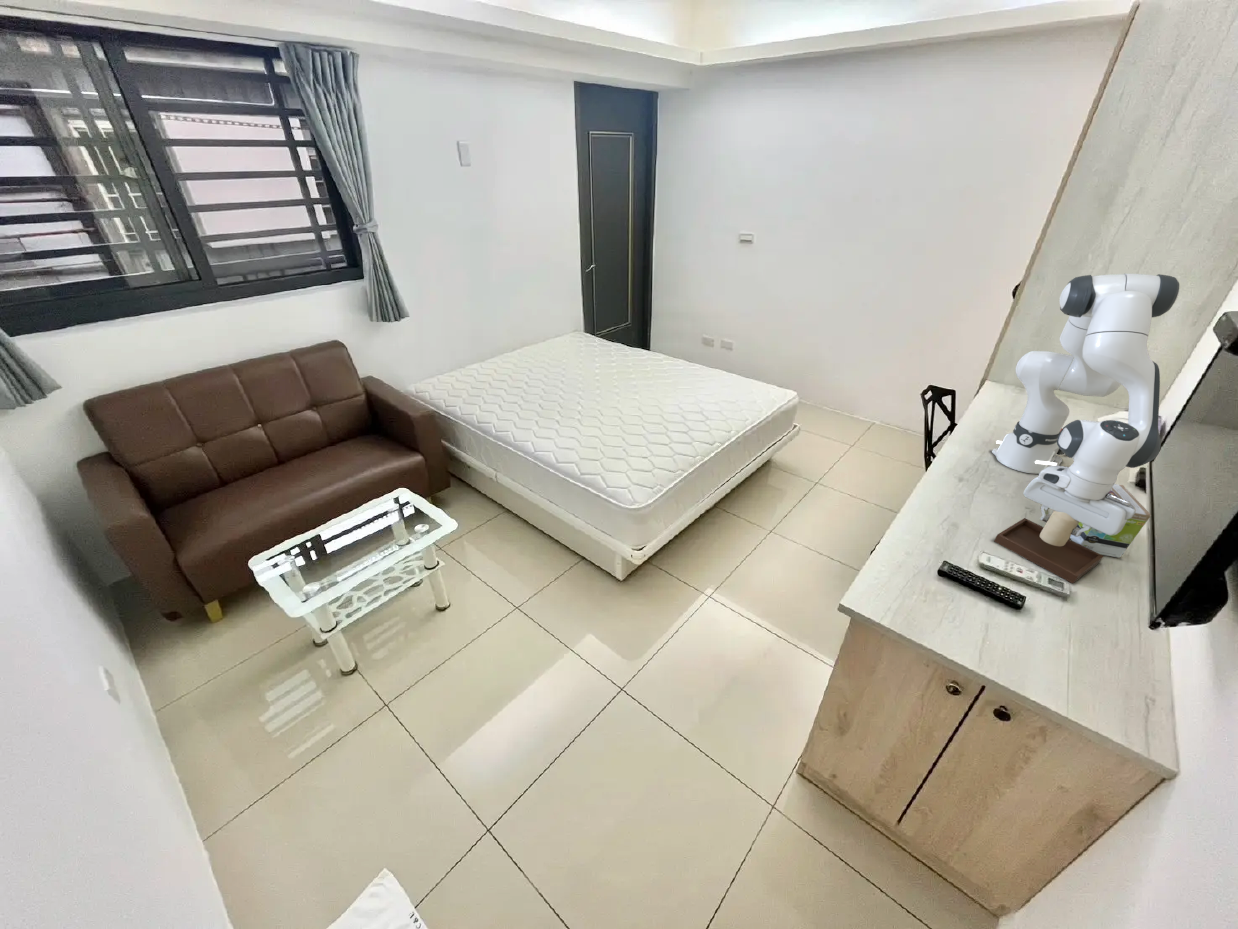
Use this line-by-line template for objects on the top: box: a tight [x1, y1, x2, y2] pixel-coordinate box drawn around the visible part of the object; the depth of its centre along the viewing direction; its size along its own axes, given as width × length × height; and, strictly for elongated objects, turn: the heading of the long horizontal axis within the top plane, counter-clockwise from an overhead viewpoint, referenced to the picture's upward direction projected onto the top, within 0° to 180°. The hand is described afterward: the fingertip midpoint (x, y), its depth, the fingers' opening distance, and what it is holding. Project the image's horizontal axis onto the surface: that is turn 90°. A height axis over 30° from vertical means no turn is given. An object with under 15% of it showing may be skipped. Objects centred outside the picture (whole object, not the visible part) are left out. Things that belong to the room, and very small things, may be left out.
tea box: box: [1069, 483, 1152, 559], centre depth 132 cm, size 15×10×15 cm
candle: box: [1040, 510, 1079, 546], centre depth 126 cm, size 6×6×10 cm
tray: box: [993, 517, 1104, 584], centre depth 131 cm, size 15×19×3 cm
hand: (1059, 527), depth 127 cm, fingers closed on candle, 5 cm apart
